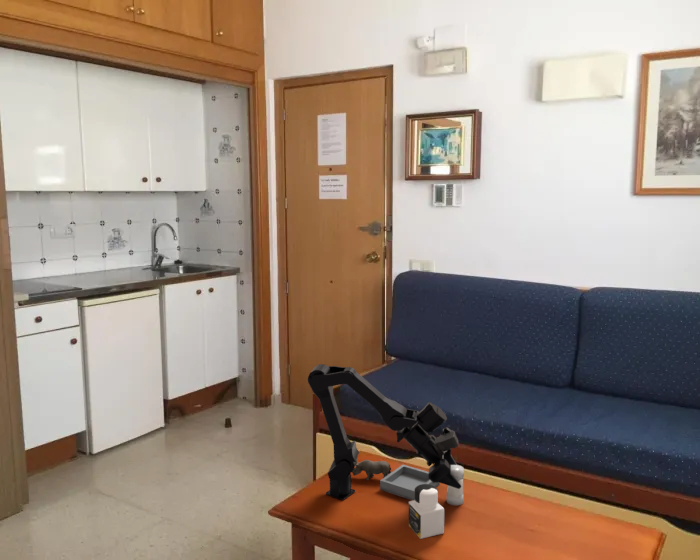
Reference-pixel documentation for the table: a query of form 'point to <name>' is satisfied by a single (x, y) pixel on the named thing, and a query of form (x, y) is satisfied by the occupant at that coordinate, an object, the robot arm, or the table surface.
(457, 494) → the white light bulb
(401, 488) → the parts tray
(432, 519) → the medicine bottle
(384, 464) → the rhino figurine
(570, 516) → the table surface
